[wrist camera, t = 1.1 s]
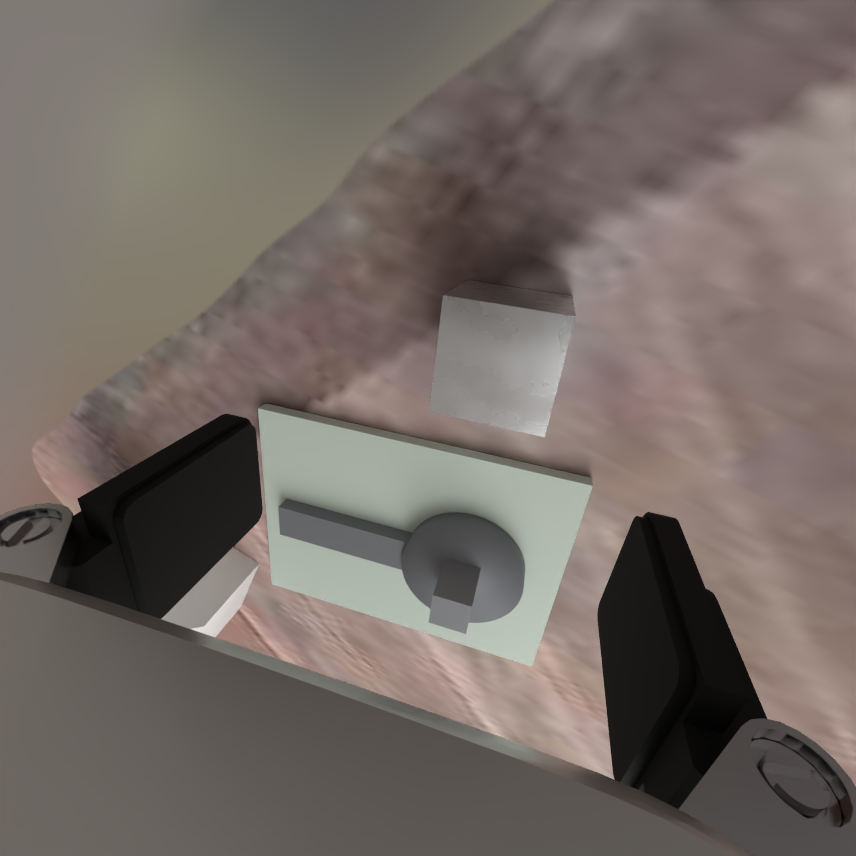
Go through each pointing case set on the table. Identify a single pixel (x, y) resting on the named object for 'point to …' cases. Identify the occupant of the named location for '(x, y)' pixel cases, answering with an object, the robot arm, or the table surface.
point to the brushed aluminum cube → (501, 355)
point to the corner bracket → (215, 595)
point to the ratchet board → (403, 504)
